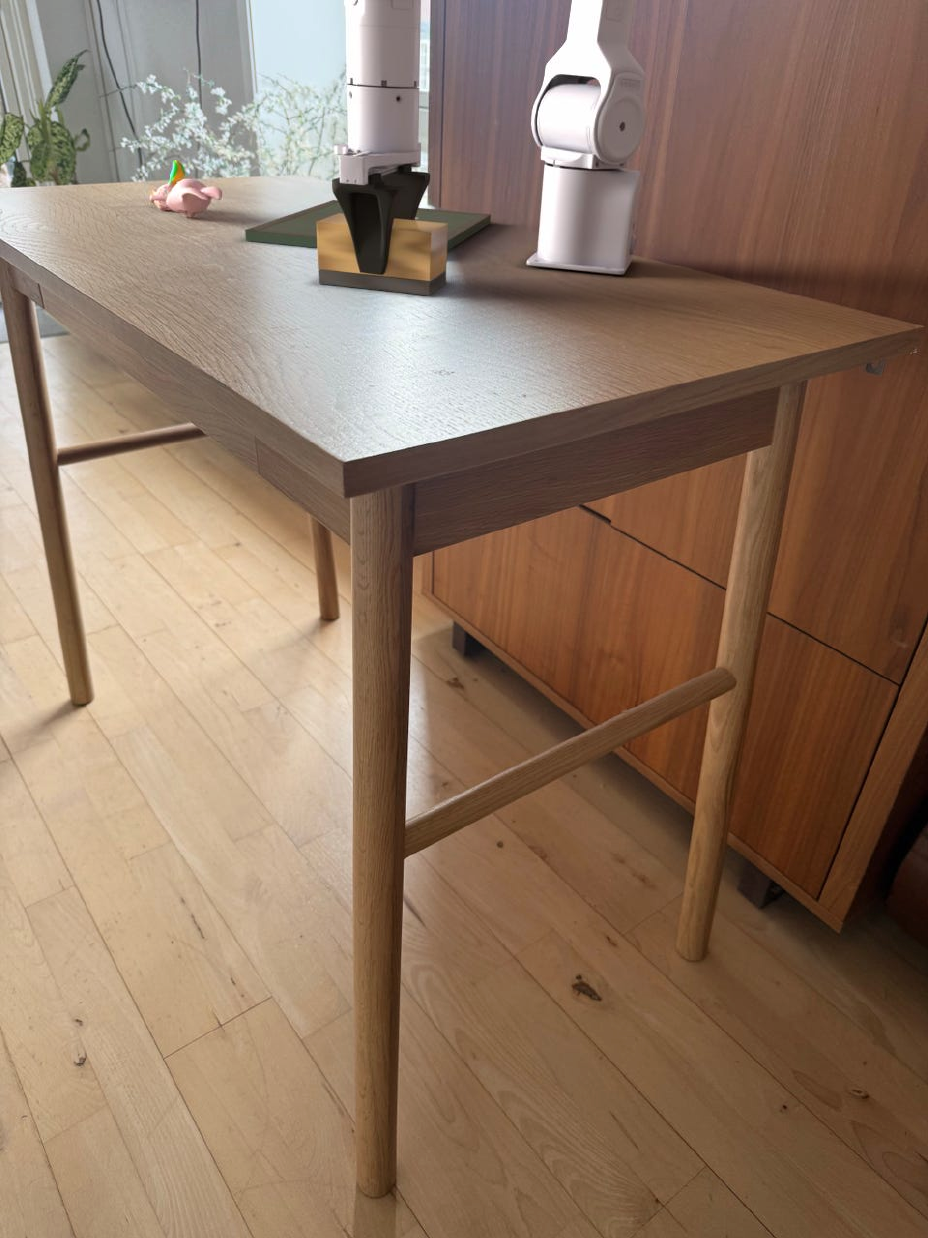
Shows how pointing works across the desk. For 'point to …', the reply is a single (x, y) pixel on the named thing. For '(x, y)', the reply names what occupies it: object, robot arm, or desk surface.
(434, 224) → the eraser
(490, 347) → the desk surface
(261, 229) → the chalkboard
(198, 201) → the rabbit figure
